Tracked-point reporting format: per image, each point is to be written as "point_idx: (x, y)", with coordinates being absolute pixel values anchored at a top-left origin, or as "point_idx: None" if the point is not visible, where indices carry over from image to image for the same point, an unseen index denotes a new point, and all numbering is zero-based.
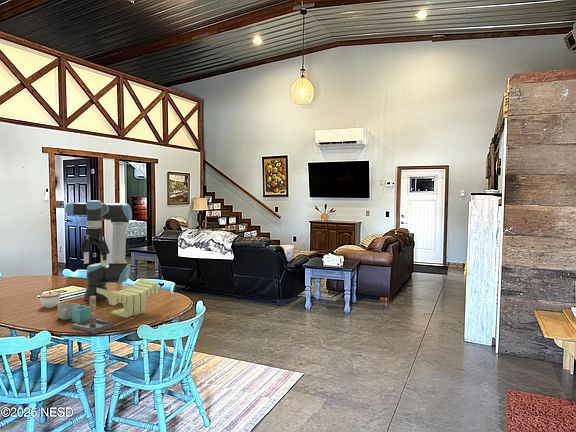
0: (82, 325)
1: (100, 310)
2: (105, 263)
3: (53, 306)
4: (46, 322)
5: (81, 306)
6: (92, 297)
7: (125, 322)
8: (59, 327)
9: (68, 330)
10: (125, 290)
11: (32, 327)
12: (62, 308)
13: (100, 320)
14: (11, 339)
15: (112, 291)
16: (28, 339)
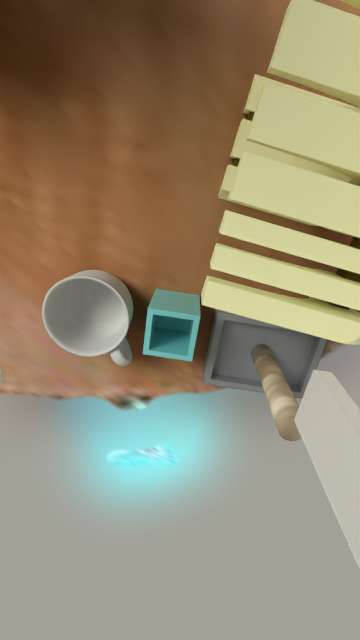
0: (222, 356)
1: (128, 154)
2: (342, 399)
3: None
4: None
5: (152, 316)
6: (300, 437)
7: None
8: (152, 373)
9: (200, 385)
10: (297, 93)
11: (79, 394)
12: (99, 354)
13: (270, 326)
14: (118, 464)
15: (244, 190)
16: (156, 455)
